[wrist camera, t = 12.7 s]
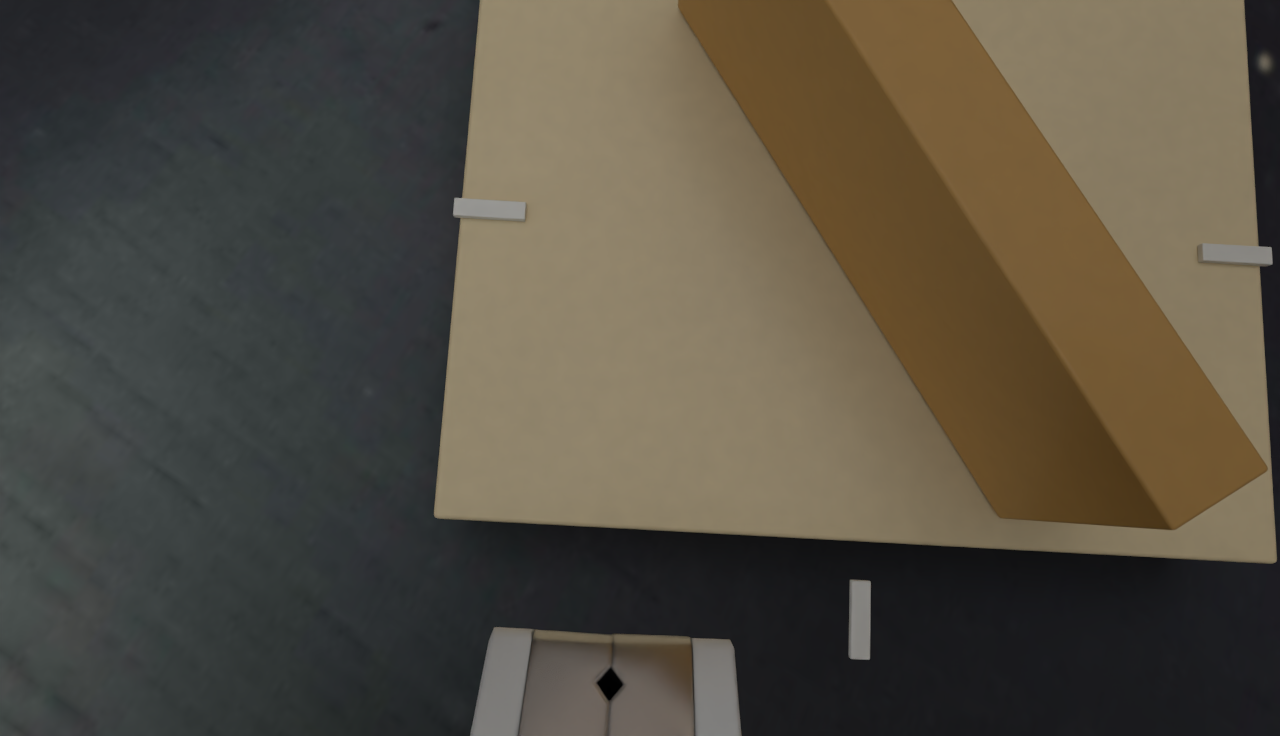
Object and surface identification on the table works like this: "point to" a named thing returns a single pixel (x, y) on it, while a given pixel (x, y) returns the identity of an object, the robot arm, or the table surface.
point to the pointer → (980, 260)
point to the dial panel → (803, 284)
